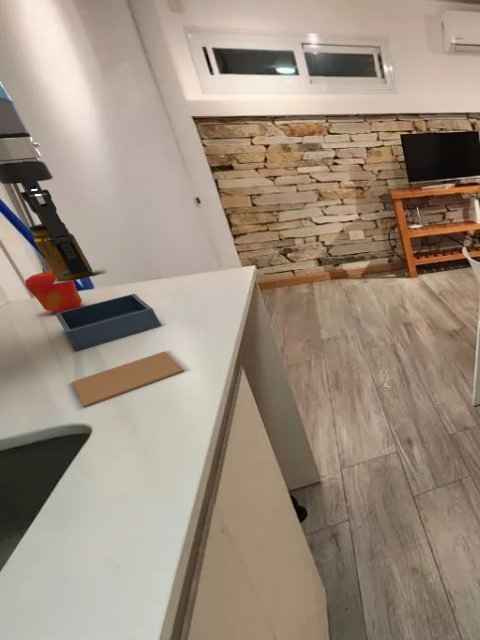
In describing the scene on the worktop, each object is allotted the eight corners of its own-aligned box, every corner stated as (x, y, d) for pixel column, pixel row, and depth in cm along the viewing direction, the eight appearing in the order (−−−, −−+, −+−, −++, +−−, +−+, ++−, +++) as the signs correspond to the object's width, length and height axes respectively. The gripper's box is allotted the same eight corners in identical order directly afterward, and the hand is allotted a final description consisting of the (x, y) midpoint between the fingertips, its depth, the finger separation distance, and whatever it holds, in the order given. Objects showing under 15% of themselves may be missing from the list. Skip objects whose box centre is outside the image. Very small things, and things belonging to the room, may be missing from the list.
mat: (84, 407, 81) (83, 405, 80) (73, 383, 89) (71, 381, 88) (184, 371, 90) (183, 369, 90) (165, 352, 98) (164, 351, 98)
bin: (77, 350, 102) (65, 332, 100) (65, 330, 114) (54, 313, 112) (161, 325, 112) (152, 308, 110) (143, 309, 124) (134, 293, 122)
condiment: (56, 278, 107) (25, 225, 101) (107, 268, 112) (80, 217, 106) (53, 285, 102) (21, 229, 96) (106, 274, 107) (78, 221, 102)
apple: (71, 304, 132) (46, 263, 127) (97, 303, 131) (73, 262, 126) (35, 316, 124) (7, 273, 119) (63, 316, 123) (36, 272, 118)
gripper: (48, 160, 93) (108, 272, 103) (39, 159, 104) (93, 260, 114) (-9, 164, 88) (60, 282, 98) (-13, 163, 99) (49, 269, 109)
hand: (78, 270), depth 106 cm, fingers closed on condiment, 6 cm apart
